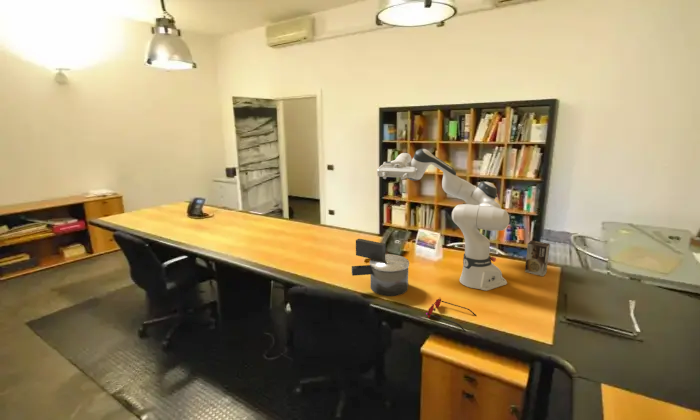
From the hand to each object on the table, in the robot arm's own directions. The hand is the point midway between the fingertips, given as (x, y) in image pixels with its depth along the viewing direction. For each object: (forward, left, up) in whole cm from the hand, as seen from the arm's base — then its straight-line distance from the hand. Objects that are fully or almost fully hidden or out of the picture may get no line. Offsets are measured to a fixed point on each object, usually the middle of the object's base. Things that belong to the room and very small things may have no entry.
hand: (393, 177), depth 177 cm
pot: (+15, +20, -50) cm, 56 cm away
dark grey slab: (+13, +17, -38) cm, 44 cm away
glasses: (-4, +53, -51) cm, 73 cm away
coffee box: (-69, +29, -50) cm, 90 cm away
